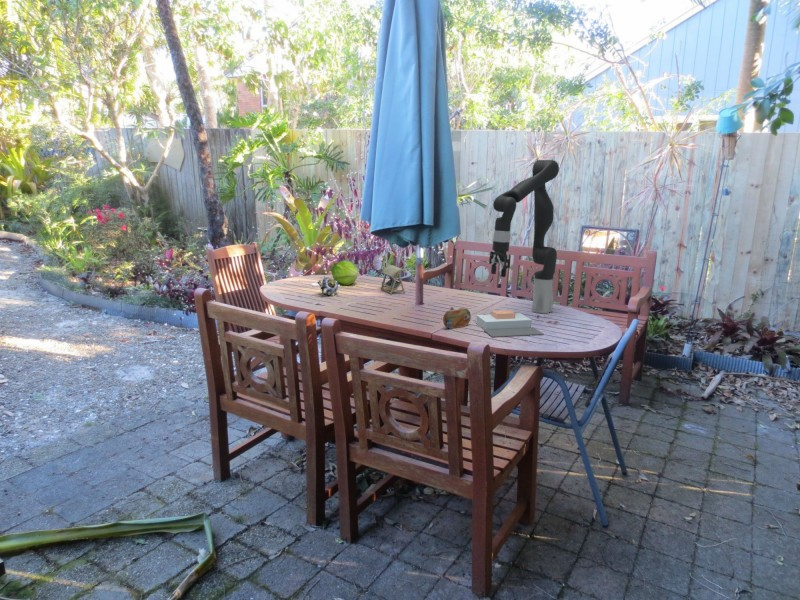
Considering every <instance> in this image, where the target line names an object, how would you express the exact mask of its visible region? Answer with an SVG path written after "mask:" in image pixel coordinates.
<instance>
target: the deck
mask: <svg viewBox="0 0 800 600" xmlns="http://www.w3.org/2000/svg"><path fill="white" fill-rule="evenodd" d="M514 313H515V312H514ZM475 322H476V325H478V326H479V327H480V328H481V329H483V331H484V330H493V329H513V328H532V319H531V318H529V317H527V316H525V314H523V313H520V312H519V313H518V312H517V313H515V318H514V319H495V318H494V317H493V316H492V313H491V314H476V320H475Z"/></svg>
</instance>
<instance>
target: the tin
mask: <svg viewBox="0 0 800 600" xmlns="http://www.w3.org/2000/svg"><path fill="white" fill-rule="evenodd" d="M471 318H472V316H471V312H470V310H469V309H467V308H464V307H461V308H456V309H455V308H454V309H450V310H447V311H446V312H445V313H444V314H443V318H442V322H443V326H444V327H445V328H446V329H450V330H454V329H458V328H463V327H466V326H468V325H469V323H470V321H471Z"/></svg>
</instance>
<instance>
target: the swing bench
mask: <svg viewBox="0 0 800 600" xmlns="http://www.w3.org/2000/svg"><path fill="white" fill-rule="evenodd" d="M406 271H407V270H406V269H404V268H400V267H398V266H396V265H393V264H392V265H391V264H390V265H387V266H385V267H384V268H383V269H382V270H381V271H380V273H381V274H383V275H384V276H383V279H382V281H381V282H380V283H381V286H380V290H381V291H385V292H386V293H389V295H391V296H392V295H393V293H395V292H396V293H397V292H402V293H403V294H406V291H405V287H404V282H403V280H402V277H401V274H400V273H401V272H406ZM387 276H388V277H389V280H387V281H386V279H387ZM385 281H386V283H385ZM400 286H401V289H399V287H400ZM385 288H388V289H391V290H390V291H389V290H387V289H385Z"/></svg>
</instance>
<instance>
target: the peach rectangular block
mask: <svg viewBox="0 0 800 600" xmlns="http://www.w3.org/2000/svg"><path fill="white" fill-rule="evenodd" d="M491 314H492V316H493V317H494V318H495V319H514V318H515V311H513V310H511V309H499V310H491Z"/></svg>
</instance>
